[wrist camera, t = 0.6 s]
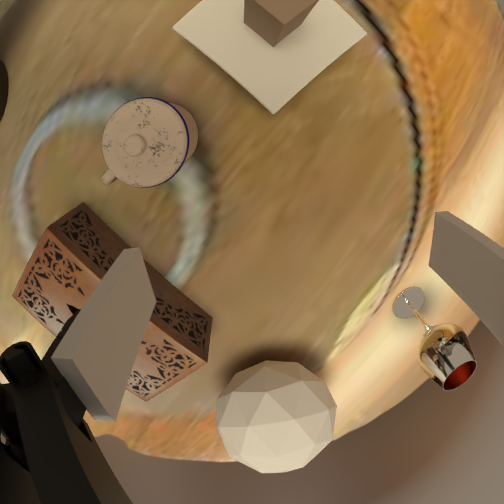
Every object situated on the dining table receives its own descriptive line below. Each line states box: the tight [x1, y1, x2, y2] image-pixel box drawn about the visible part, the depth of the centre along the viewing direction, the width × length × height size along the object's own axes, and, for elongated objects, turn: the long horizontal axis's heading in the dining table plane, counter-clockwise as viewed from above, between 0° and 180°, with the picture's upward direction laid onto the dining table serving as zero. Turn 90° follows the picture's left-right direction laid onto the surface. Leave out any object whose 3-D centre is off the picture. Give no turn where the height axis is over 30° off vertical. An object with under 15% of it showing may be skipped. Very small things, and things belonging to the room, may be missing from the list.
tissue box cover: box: [12, 202, 212, 401], centre depth 39 cm, size 26×14×10 cm, turn 42°
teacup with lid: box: [101, 97, 198, 188], centre depth 29 cm, size 12×9×12 cm
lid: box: [172, 0, 367, 115], centre depth 20 cm, size 14×14×9 cm
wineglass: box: [393, 287, 477, 391], centre depth 38 cm, size 8×8×18 cm
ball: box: [216, 360, 337, 473], centre depth 44 cm, size 19×20×20 cm
